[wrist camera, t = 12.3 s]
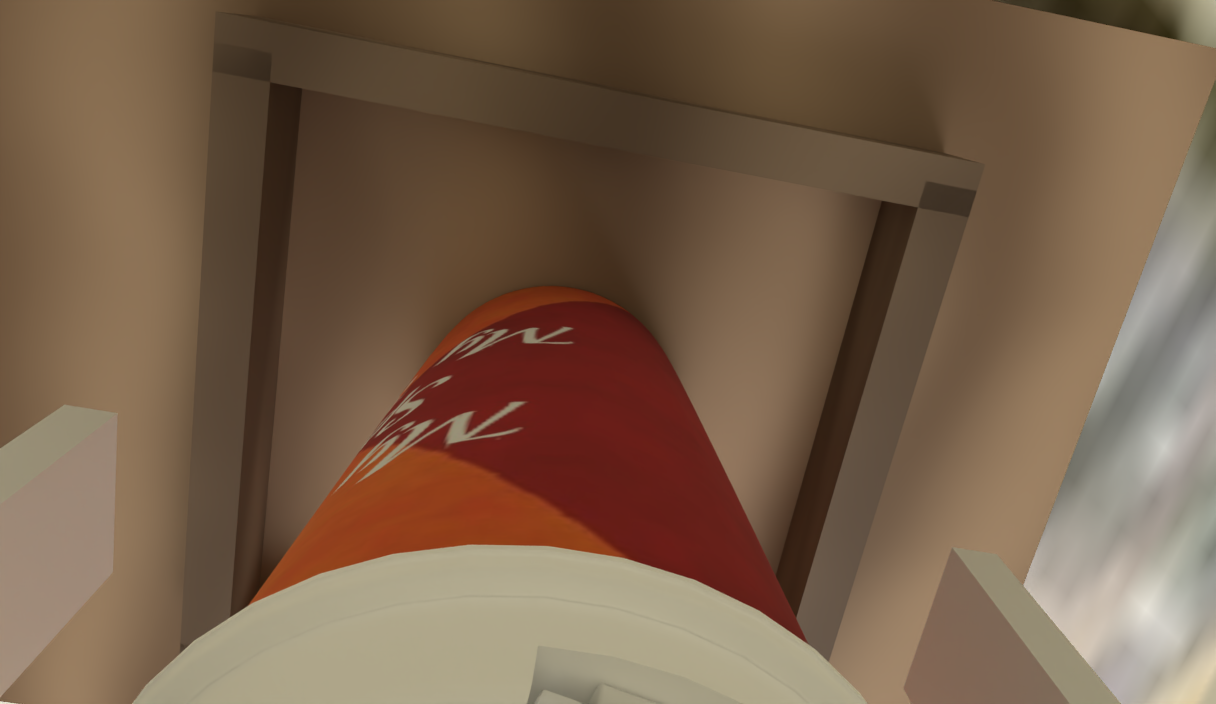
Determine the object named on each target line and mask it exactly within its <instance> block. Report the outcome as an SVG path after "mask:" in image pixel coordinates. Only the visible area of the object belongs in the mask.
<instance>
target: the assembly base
mask: <svg viewBox="0 0 1216 704" xmlns="http://www.w3.org/2000/svg"><path fill="white" fill-rule="evenodd" d="M1215 79H1216V48H1212V47H1207V46H1202V45H1198V44H1193V43H1188V42H1184V41H1179V40H1175V39H1170V38H1165V37H1161V36H1156V35H1151V34H1147V33H1142V32H1137V31H1133V30H1128V29H1123V28H1119V27H1114V26H1109V25H1105V24H1100V23H1095V22H1091V21H1086V20H1081V19H1077V18H1072V17H1067V16H1063V15H1058V14H1053V13H1049V12H1044V11H1040V10H1035V9H1030V8H1026V7H1021V6H1016V5H1012V4H1007V3H1002V2H998V1H993V0H0V448H2V447H3V446H5V445H6V444H8V443H9V442H10V441H12V440H13V439H15V438H16V437H18V436H19V435H21V434H22V433H24V432H25V431H27V430H28V429H30V428H31V427H32V426H34V425H35V424H37V423H38V422H40V421H41V420H43V419H44V418H46V417H47V416H49V415H50V414H52V413H53V412H55V411H56V410H57V409H59V408H60V407H62V406H63V405H70V406H76V407H82V408H89V409H95V410H101V411H107V412H114V413H118V415H117V449H116V484H115V518H114V552H113V573H112V574H111V575H110V576H109V577H108V578H107V579H106V581H105V582H104V583H103V584H102V585H101V586H100V587H99V588H98V589H97V591H96V592H95V593H94V594H93V595H92V596H91V597H90V598H89V599H88V600H87V602H86V603H85V604H84V605H83V606H82V607H81V608H80V609H79V610H78V612H77V613H76V614H75V615H74V616H73V617H72V618H71V619H70V620H69V622H68V623H67V624H66V625H65V626H64V627H63V628H62V629H61V630H60V632H59V633H58V634H57V635H56V636H55V637H54V638H53V639H52V640H51V642H50V643H49V644H48V645H47V646H46V647H45V648H44V649H43V650H42V652H41V653H40V654H39V655H38V656H37V657H36V658H35V659H34V660H33V661H32V663H31V664H30V665H29V666H28V667H27V668H26V669H25V670H24V671H23V673H22V674H21V675H20V676H19V677H18V678H17V679H16V680H15V681H14V683H13V684H12V685H11V686H10V687H9V688H8V689H7V690H6V691H5V693H4V694H3V695H2V696H1V697H0V701H3V702H11V703H18V704H132V703H133V702H134V700H135V699H136V698H137V696H138V695H139V694H140V692H141V691H142V690H143V688H144V687H145V686H146V684H148V683H149V682H150V681H151V680H152V679H153V678H154V677H155V676H156V675H157V674H158V673H160V672H161V671H162V670H163V669H164V668H165V667H166V666H167V665H168V664H169V663H170V662H172V661H173V660H174V659H175V658H176V657H177V656H178V655H179V654H180V653H181V652H182V651H183V650H185V649H186V648H187V647H188V646H189V645H190V644H191V643H192V642H193V641H194V640H196V639H197V638H199V637H201V636H202V635H204V634H205V633H207V632H208V631H210V630H211V629H213V628H215V627H216V626H218V625H219V624H221V623H222V622H224V621H225V620H227V619H229V618H230V617H232V616H233V615H235V614H236V613H238V612H239V611H241V610H243V609H244V608H246V607H247V606H248V605H249V604H250V602H251V601H252V599H253V598H254V597H255V595H256V594H257V592H258V591H259V590H260V588H261V587H262V586H263V584H264V583H265V581H266V580H267V579H268V577H269V576H270V575H271V573H272V572H273V570H274V569H275V568H276V566H277V565H278V563H279V562H280V561H281V559H282V558H283V557H284V555H285V554H286V552H287V551H288V550H289V548H290V547H291V545H292V544H293V543H294V541H295V540H296V539H297V537H298V536H299V534H300V533H301V532H302V530H303V529H304V527H305V526H306V525H307V523H308V522H309V521H310V519H311V518H312V516H313V515H314V514H315V512H316V511H317V509H318V508H319V507H320V505H321V504H322V502H323V501H324V500H325V498H326V497H327V496H328V494H329V493H330V491H331V490H332V489H333V487H334V486H335V484H336V483H337V482H338V480H339V479H340V478H341V476H342V475H343V473H344V472H345V471H346V469H347V468H348V466H349V465H350V464H351V462H352V461H353V460H354V458H355V457H356V455H357V454H358V453H359V451H360V450H361V448H362V447H363V446H364V444H365V443H366V442H367V440H368V439H369V437H370V436H371V435H372V433H373V432H374V431H375V429H376V428H377V426H378V425H379V424H380V422H381V421H382V420H383V418H384V417H385V416H386V414H387V413H388V411H389V410H390V409H391V407H392V406H393V405H394V403H395V402H396V401H397V399H398V398H399V396H400V395H401V394H402V392H403V391H404V390H405V388H406V387H407V386H408V384H409V383H410V382H411V380H412V379H413V378H414V376H415V375H416V374H417V372H418V371H419V370H420V368H421V367H422V366H423V364H424V363H425V362H426V360H427V359H428V358H429V356H430V355H431V354H432V353H433V351H434V350H435V349H436V348H437V347H438V345H439V344H440V343H441V342H442V340H443V339H444V338H445V337H446V336H447V334H448V333H449V332H450V331H451V330H452V329H453V328H454V327H455V326H456V325H457V324H458V323H459V322H460V321H461V320H462V319H464V318H465V317H466V316H467V315H468V314H470V313H471V312H472V311H474V310H475V309H476V308H478V307H480V306H481V305H483V304H484V303H486V302H488V301H490V300H492V299H494V298H496V297H499V296H501V295H504V294H506V293H509V292H512V291H516V290H520V289H524V288H530V287H538V286H563V287H570V288H576V289H581V290H585V291H588V292H591V293H594V294H597V295H599V296H602V297H604V298H606V299H608V300H610V301H612V302H614V303H616V304H617V305H619V306H621V307H622V308H624V309H625V310H627V311H628V312H629V313H631V314H632V315H633V316H634V317H636V318H637V319H638V320H639V321H640V322H641V323H642V324H643V325H644V326H645V327H646V328H647V329H648V330H649V331H650V333H651V334H652V335H653V336H654V338H655V339H656V340H657V342H658V343H659V345H660V346H661V348H662V349H663V351H664V352H665V354H666V355H667V357H668V359H669V361H670V363H671V364H672V366H673V368H674V370H675V372H676V373H677V375H678V377H679V379H680V381H681V383H682V385H683V387H684V389H685V391H686V393H687V395H688V397H689V399H690V401H691V403H692V405H693V407H694V409H695V411H696V413H697V415H698V417H699V419H700V421H701V423H702V425H703V427H704V429H705V431H706V433H707V435H708V437H709V439H710V441H711V443H712V445H713V447H714V449H715V451H716V453H717V456H718V458H719V460H720V462H721V464H722V466H723V468H724V470H725V472H726V474H727V476H728V478H729V480H730V482H731V484H732V486H733V488H734V490H735V493H736V495H737V497H738V499H739V501H740V503H741V505H742V507H743V509H744V511H745V513H746V515H747V518H748V520H749V522H750V524H751V526H752V528H753V530H754V532H755V534H756V536H757V538H758V540H759V543H760V545H761V547H762V549H763V551H764V553H765V555H766V557H767V559H768V561H769V563H770V565H771V567H772V570H773V572H774V574H775V576H776V578H777V580H778V582H779V584H780V586H781V588H782V590H783V592H784V595H785V597H786V599H787V601H788V603H789V605H790V607H791V609H792V611H793V613H794V615H795V617H796V619H797V621H798V624H799V626H800V628H801V630H802V632H803V634H804V636H805V638H806V640H807V642H808V644H809V645H810V646H811V647H813V648H814V649H815V650H816V651H817V652H818V653H819V654H820V655H822V656H823V657H824V658H825V659H826V660H827V661H828V662H829V663H830V664H831V665H832V666H833V667H834V668H835V669H836V670H837V671H838V672H839V673H840V674H841V675H842V676H843V677H844V678H845V679H846V680H847V681H848V682H849V683H850V684H851V685H852V686H853V687H854V688H855V689H856V690H857V691H858V692H859V693H860V694H861V695H862V697H863V698H864V699H865V701H866V702H867V704H911V702H910V700H909V698H908V696H907V694H906V692H905V690H904V688H903V687H904V684H905V682H906V679H907V676H908V673H909V670H910V667H911V664H912V661H913V659H914V656H915V653H916V650H917V647H918V644H919V641H920V638H921V635H922V633H923V630H924V627H925V624H926V621H927V618H928V615H929V612H930V610H931V607H932V604H933V601H934V598H935V595H936V592H937V589H938V586H939V584H940V581H941V578H942V575H943V572H944V569H945V566H946V563H947V561H948V558H949V555H950V552H951V549H952V547H955V548H961V549H967V550H973V551H980V552H986V553H992V554H997V555H998V556H999V557H1000V559H1001V560H1002V561H1003V562H1004V563H1005V565H1006V566H1007V567H1008V568H1009V569H1010V571H1011V572H1012V573H1013V574H1014V575H1015V577H1016V578H1017V579H1018V580H1019V581H1020V583H1021V584H1022V585H1023V584H1024V581H1025V579H1026V576H1027V573H1028V571H1029V568H1030V565H1031V563H1032V560H1033V557H1034V555H1035V552H1036V550H1037V547H1038V544H1039V542H1040V539H1041V536H1042V534H1043V531H1044V529H1045V526H1046V523H1047V521H1048V518H1049V515H1050V513H1051V510H1052V508H1053V505H1054V502H1055V500H1056V497H1057V494H1058V492H1059V489H1060V487H1061V484H1062V481H1063V479H1064V476H1065V473H1066V471H1067V468H1068V465H1069V463H1070V460H1071V458H1072V455H1073V452H1074V450H1075V447H1076V444H1077V442H1078V439H1079V437H1080V434H1081V431H1082V429H1083V426H1084V423H1085V421H1086V418H1087V416H1088V413H1089V410H1090V408H1091V405H1092V402H1093V400H1094V397H1095V394H1096V392H1097V389H1098V387H1099V384H1100V381H1101V379H1102V376H1103V373H1104V371H1105V368H1106V366H1107V363H1108V360H1109V358H1110V355H1111V352H1112V350H1113V347H1114V345H1115V342H1116V339H1117V337H1118V334H1119V331H1120V329H1121V326H1122V323H1123V321H1124V318H1125V316H1126V313H1127V310H1128V308H1129V305H1130V302H1131V300H1132V297H1133V295H1134V292H1135V289H1136V287H1137V284H1138V281H1139V279H1140V276H1141V274H1142V271H1143V268H1144V266H1145V263H1146V260H1147V258H1148V255H1149V252H1150V250H1151V247H1152V245H1153V242H1154V239H1155V237H1156V234H1157V231H1158V229H1159V226H1160V224H1161V221H1162V218H1163V216H1164V213H1165V210H1166V208H1167V205H1168V203H1169V200H1170V197H1171V195H1172V192H1173V189H1174V187H1175V184H1176V181H1177V179H1178V176H1179V174H1180V171H1181V168H1182V166H1183V163H1184V160H1185V158H1186V155H1187V153H1188V150H1189V147H1190V145H1191V142H1192V139H1193V137H1194V134H1195V132H1196V129H1197V126H1198V124H1199V121H1200V118H1201V116H1202V113H1203V110H1204V108H1205V105H1206V103H1207V100H1208V97H1209V95H1210V92H1211V89H1212V87H1213V84H1214V82H1215Z"/></svg>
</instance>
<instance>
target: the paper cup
mask: <svg viewBox="0 0 1216 704" xmlns="http://www.w3.org/2000/svg"><path fill="white" fill-rule="evenodd" d="M132 704H867V702H866V701H865V699H864V698H863V697H862V695H861V694H860V693H859V692H858V691H857V690H856V689H855V688H854V687H853V686H852V685H851V684H850V683H849V682H848V681H847V680H846V679H845V678H844V677H843V676H842V675H841V674H840V673H839V672H838V671H837V670H836V669H835V668H834V667H833V666H832V665H831V664H830V663H829V662H828V661H827V660H826V659H825V658H824V657H823V656H822V655H820V654H819V653H818V652H817V651H816V650H815V649H814V648H813V647H811V646H810V645H809V644H808V642H807V640H806V638H805V636H804V634H803V632H802V630H801V628H800V626H799V624H798V621H797V619H796V617H795V615H794V613H793V611H792V609H791V607H790V605H789V603H788V601H787V599H786V597H785V595H784V592H783V590H782V588H781V586H780V584H779V582H778V580H777V578H776V576H775V574H774V572H773V570H772V567H771V565H770V563H769V561H768V559H767V557H766V555H765V553H764V551H763V549H762V547H761V545H760V543H759V540H758V538H757V536H756V534H755V532H754V530H753V528H752V526H751V524H750V522H749V520H748V518H747V515H746V513H745V511H744V509H743V507H742V505H741V503H740V501H739V499H738V497H737V495H736V493H735V490H734V488H733V486H732V484H731V482H730V480H729V478H728V476H727V474H726V472H725V470H724V468H723V466H722V464H721V462H720V460H719V458H718V456H717V453H716V451H715V449H714V447H713V445H712V443H711V441H710V439H709V437H708V435H707V433H706V431H705V429H704V427H703V425H702V423H701V421H700V419H699V417H698V415H697V413H696V411H695V409H694V407H693V405H692V403H691V401H690V399H689V397H688V395H687V393H686V391H685V389H684V387H683V385H682V383H681V381H680V379H679V377H678V375H677V373H676V372H675V370H674V368H673V366H672V364H671V363H670V361H669V359H668V357H667V355H666V354H665V352H664V351H663V349H662V348H661V346H660V345H659V343H658V342H657V340H656V339H655V338H654V336H653V335H652V334H651V333H650V331H649V330H648V329H647V328H646V327H645V326H644V325H643V324H642V323H641V322H640V321H639V320H638V319H637V318H636V317H634V316H633V315H632V314H631V313H629V312H628V311H627V310H625V309H624V308H622V307H621V306H619V305H617V304H616V303H614V302H612V301H610V300H608V299H606V298H604V297H602V296H599V295H597V294H594V293H591V292H588V291H585V290H581V289H576V288H570V287H563V286H538V287H530V288H524V289H520V290H516V291H512V292H509V293H506V294H504V295H501V296H499V297H496V298H494V299H492V300H490V301H488V302H486V303H484V304H483V305H481V306H480V307H478V308H476V309H475V310H474V311H472V312H471V313H470V314H468V315H467V316H466V317H465V318H464V319H462V320H461V321H460V322H459V323H458V324H457V325H456V326H455V327H454V328H453V329H452V330H451V331H450V332H449V333H448V334H447V336H446V337H445V338H444V339H443V340H442V342H441V343H440V344H439V345H438V347H437V348H436V349H435V350H434V351H433V353H432V354H431V355H430V356H429V358H428V359H427V360H426V362H425V363H424V364H423V366H422V367H421V368H420V370H419V371H418V372H417V374H416V375H415V376H414V378H413V379H412V380H411V382H410V383H409V384H408V386H407V387H406V388H405V390H404V391H403V392H402V394H401V395H400V396H399V398H398V399H397V401H396V402H395V403H394V405H393V406H392V407H391V409H390V410H389V411H388V413H387V414H386V416H385V417H384V418H383V420H382V421H381V422H380V424H379V425H378V426H377V428H376V429H375V431H374V432H373V433H372V435H371V436H370V437H369V439H368V440H367V442H366V443H365V444H364V446H363V447H362V448H361V450H360V451H359V453H358V454H357V455H356V457H355V458H354V460H353V461H352V462H351V464H350V465H349V466H348V468H347V469H346V471H345V472H344V473H343V475H342V476H341V478H340V479H339V480H338V482H337V483H336V484H335V486H334V487H333V489H332V490H331V491H330V493H329V494H328V496H327V497H326V498H325V500H324V501H323V502H322V504H321V505H320V507H319V508H318V509H317V511H316V512H315V514H314V515H313V516H312V518H311V519H310V521H309V522H308V523H307V525H306V526H305V527H304V529H303V530H302V532H301V533H300V534H299V536H298V537H297V539H296V540H295V541H294V543H293V544H292V545H291V547H290V548H289V550H288V551H287V552H286V554H285V555H284V557H283V558H282V559H281V561H280V562H279V563H278V565H277V566H276V568H275V569H274V570H273V572H272V573H271V575H270V576H269V577H268V579H267V580H266V581H265V583H264V584H263V586H262V587H261V588H260V590H259V591H258V592H257V594H256V595H255V597H254V598H253V599H252V601H251V602H250V604H249V605H248V606H247V607H246V608H244V609H243V610H241V611H239V612H238V613H236V614H235V615H233V616H232V617H230V618H229V619H227V620H225V621H224V622H222V623H221V624H219V625H218V626H216V627H215V628H213V629H211V630H210V631H208V632H207V633H205V634H204V635H202V636H201V637H199V638H197V639H196V640H194V641H193V642H192V643H191V644H190V645H189V646H188V647H187V648H186V649H185V650H183V651H182V652H181V653H180V654H179V655H178V656H177V657H176V658H175V659H174V660H173V661H172V662H170V663H169V664H168V665H167V666H166V667H165V668H164V669H163V670H162V671H161V672H160V673H158V674H157V675H156V676H155V677H154V678H153V679H152V680H151V681H150V682H149V683H148V684H146V686H145V687H144V688H143V690H142V691H141V692H140V694H139V695H138V696H137V698H136V699H135V700H134V702H133V703H132Z"/></svg>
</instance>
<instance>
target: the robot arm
mask: <svg viewBox="0 0 1216 704" xmlns="http://www.w3.org/2000/svg"><path fill="white" fill-rule="evenodd" d="M117 415H118V413H114V412H107V411H101V410H95V409H89V408H82V407H76V406H70V405H63V406H62V407H60V408H59V409H57V410H56V411H55V412H53V413H52V414H50V415H49V416H47V417H46V418H44V419H43V420H41V421H40V422H38V423H37V424H35V425H34V426H32V427H31V428H30V429H28V430H27V431H25V432H24V433H22V434H21V435H19V436H18V437H16V438H15V439H13V440H12V441H10V442H9V443H8V444H6V445H5V446H3V447H2V448H0V697H1V696H2V695H3V694H4V693H5V691H6V690H7V689H8V688H9V687H10V686H11V685H12V684H13V683H14V681H15V680H16V679H17V678H18V677H19V676H20V675H21V674H22V673H23V671H24V670H25V669H26V668H27V667H28V666H29V665H30V664H31V663H32V661H33V660H34V659H35V658H36V657H37V656H38V655H39V654H40V653H41V652H42V650H43V649H44V648H45V647H46V646H47V645H48V644H49V643H50V642H51V640H52V639H53V638H54V637H55V636H56V635H57V634H58V633H59V632H60V630H61V629H62V628H63V627H64V626H65V625H66V624H67V623H68V622H69V620H70V619H71V618H72V617H73V616H74V615H75V614H76V613H77V612H78V610H79V609H80V608H81V607H82V606H83V605H84V604H85V603H86V602H87V600H88V599H89V598H90V597H91V596H92V595H93V594H94V593H95V592H96V591H97V589H98V588H99V587H100V586H101V585H102V584H103V583H104V582H105V581H106V579H107V578H108V577H109V576H110V575H111V574H112V573H113V552H114V518H115V484H116V449H117ZM903 688H904V690H905V692H906V694H907V696H908V698H909V700H910V702H911V704H1121V703H1120V702H1119V701H1118V700H1117V698H1116V697H1115V696H1114V695H1113V694H1112V692H1111V691H1110V690H1109V689H1108V687H1107V686H1106V685H1105V684H1104V683H1103V681H1102V680H1101V679H1100V678H1099V677H1098V675H1097V674H1096V673H1095V672H1094V671H1093V669H1092V668H1091V667H1090V666H1089V665H1088V663H1087V662H1086V661H1085V660H1084V659H1083V657H1082V656H1081V655H1080V654H1079V653H1078V651H1077V650H1076V649H1075V648H1074V647H1073V645H1072V644H1071V643H1070V642H1069V640H1068V639H1067V638H1066V637H1065V636H1064V634H1063V633H1062V632H1061V631H1060V630H1059V628H1058V627H1057V626H1056V625H1055V624H1054V622H1053V621H1052V620H1051V619H1050V618H1049V616H1048V615H1047V614H1046V613H1045V612H1044V610H1043V609H1042V608H1041V607H1040V606H1039V604H1038V603H1037V602H1036V601H1035V600H1034V598H1033V597H1032V596H1031V595H1030V593H1029V592H1028V591H1027V590H1026V589H1025V587H1024V586H1023V585H1022V584H1021V583H1020V581H1019V580H1018V579H1017V578H1016V577H1015V575H1014V574H1013V573H1012V572H1011V571H1010V569H1009V568H1008V567H1007V566H1006V565H1005V563H1004V562H1003V561H1002V560H1001V559H1000V557H999V556H998V555H997V554H992V553H986V552H980V551H973V550H967V549H961V548H955V547H952V549H951V552H950V555H949V558H948V561H947V563H946V566H945V569H944V572H943V575H942V578H941V581H940V584H939V586H938V589H937V592H936V595H935V598H934V601H933V604H932V607H931V610H930V612H929V615H928V618H927V621H926V624H925V627H924V630H923V633H922V635H921V638H920V641H919V644H918V647H917V650H916V653H915V656H914V659H913V661H912V664H911V667H910V670H909V673H908V676H907V679H906V682H905V684H904V687H903Z"/></svg>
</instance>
